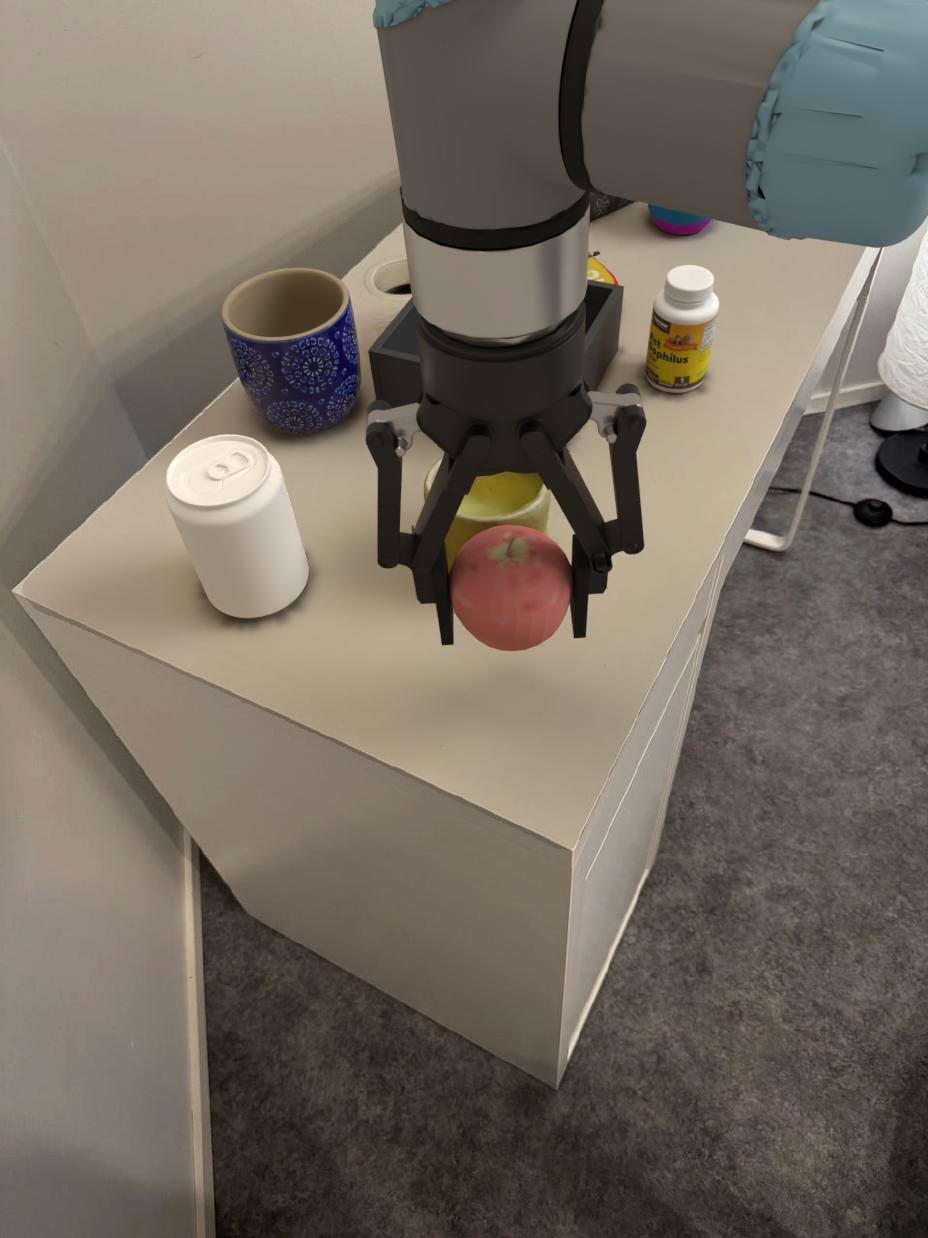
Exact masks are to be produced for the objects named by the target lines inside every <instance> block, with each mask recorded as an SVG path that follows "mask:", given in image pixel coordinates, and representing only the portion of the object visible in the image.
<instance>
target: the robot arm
mask: <svg viewBox="0 0 928 1238" xmlns="http://www.w3.org/2000/svg"><path fill="white" fill-rule="evenodd" d="M374 1H375V2H374V3H375V7H374V10H373V12H372V23H373V24H372V25H373V28H375V30H376V33H377V40H378V46H379V52H380V59H381V65H382V72H383V77H384V83H385V84H384V85H385V90H386V96H387V102H388V109H389V115H390V120H391V127H392V134H393V139H394V146H395V152H396V158H397V165H398V170H399V179H400V187H398V188H399V189H398V190H399V195H400V200H401V201H400V202H401V211H400V216H401V223H402V231H403V238H404V246H405V254H406V262H407V268H408V270H407V271H408V277H409V285H410V291H411V297H412V299H413V304H414V306H415V307H416V312H415V325H416V333H417V341H418V349H419V357H420V365H421V373H422V381H423V387H422V390H421V392H420V393H419V395H418V398H417V403H413V404H409V405H405V406H401V407H396V408H391V406H390V404H389V403H387V402H386V401H383V400H376V399H375V400H373V401H371V402H370V403H369V404H368V407H367V415H366V426H365V439H364V440H365V445H366V447H367V449H368V451H369V453H370V455H371V458H372V461H373V462H374V464H375V466H376V468H377V510H376V511H377V514H376V515H377V518H376V519H377V521H376V523H377V527H376V528H377V529H376V531H377V532H376V534H377V536H376V539H377V540H376V556H377V557H376V562H377V565H378V566H379V567H381V568H383V569H387V570H390V569H395V568H396V567H398V566H399V565H400V566H404V567H406V568H408V569H410V571H411V572H412V573H411V574H412V580H413V584H414V591H415V596H416V600H417V602H418V603H420V605H430V604H435V608H436V615H437V621H438V627H439V628H438V629H439V635H440V644H441V646H453V645H455V640H454V639H455V636H454V632H455V631H454V609H453V607H452V604H451V602H450V599H449V591H448V576H449V570H448V562H447V554H446V546H445V542H444V540H445V538H446V536H447V534H448V531H449V529H450V527H451V525H452V522H453V520H454V518H455V516H456V514H457V511H458V509H459V507H460V505H461V502H462V500H463V498H464V496H465V495H468V494H469V492H470V490H471V487H472V485H473V483H474V481H475V479H476V477H477V476H492V475H495V474H499V473H503V472H513V473H521V474H526V473H537V472H538V474H539V476H540V478H541V479H542V481H543V483H544V485H545V486H546V488H547V490H551V494H552V496H553V497H554V499H555V500H556V502H557V504H558V506H559V508H560V510H561V512H562V513H563V515H564V516H565V519H566V520H567V522H568V523H569V525H570V527H571V529H572V530H573V532H574V533H572V537H571V539H572V540H571V541H572V542H571V562H570V564H571V567H572V570H573V579H574V589H573V594H572V598H571V601H570V604H569V609H570V619H571V628H572V635H573V636H572V637H573V639H586V638H587V628H588V627H587V624H588V610H589V595H603V594H604V593H605V591H606V590H607V589H608V581H609V578H608V577H609V572H611V571H612V570H613V566H614V565H613V560H612V559H613V558H612V557H613V556H614V555H616V554H618V553H621V552H624V553H625V554H627V555H637V554H639V553H641V552H643V551H644V549H645V537H644V526H643V515H642V513H643V512H642V502H641V501H642V500H641V490H640V489H641V488H640V479H639V467H638V456H637V452H638V449H639V446H640V444H641V441H642V438H643V435H644V433H645V431H646V427H647V423H648V422H647V417H646V413H645V409H644V404H643V400H642V395H641V390H640V389H639V386H638V385H636V384H634V383H629V382H627V383H623V384H621V385H620V386H619V387H617V389H616V391H615V392H614V393H613V392H606V391H605V392H603V391H596V390H595V391H590V388H589V386H588V384H587V383H586V381H585V380H584V378H583V365H584V342H585V318H586V307H585V302H584V297H585V294H586V289H587V276H588V251H589V248H590V247H589V246H590V245H589V242H590V222H589V217H590V196H591V192H594V193H598V194H601V195H612V196H617V197H621V198H625V199H629V200H633V201H634V202H638V203H643V204H647V205H648V204H650V205H655V206H659V207H663V208H667V209H671V210H676V211H680V212H684V213H688V214H692V215H697V216H701V217H705V218H709V219H712V220H714V221H718V222H723V223H726V224H731V225H735V226H739V227H743V228H748V229H752V230H756V231H761V232H764V233H766V235H768V236H771V237H775V238H778V239H781V240H784V241H785V240H786V241H790V240H792V239H795V240H800V241H802V240H803V241H804V240H806V239H811V240H818V241H825V242H826V241H827V242H831V243H840V244H848V245H854V246H860V247H866V248H872V249H880V248H886V247H891V246H895V245H897V244H898V245H899V244H900V243H902V242H903V241H905V240H907V239H908V238H910V237H911V236H913V234H915V233H916V231H917V230H918V229H919V228H920V227H922V225H923V224H924V222H925V221H926V220H927V218H928V0H374ZM589 420H592V421H593V422H594V423H596V426H597V433H598V434H599V436H600V437H601V438H603V439H605V440H606V442H607V443H608V451H609V459H610V467H611V468H610V469H611V476H612V485H613V494H614V502H615V511H616V517H617V518H614V519H610V520H608V521H605V519H604V517H603V515H602V513H601V512H600V509H599V507H598V505H597V503H596V501H595V500H594V498H593V496H592V494H591V492H590V490H589V489H588V486H587V484H586V482H585V480H584V479H583V477H582V475H581V472H580V471H579V469H578V467H577V465H576V463H575V461H574V459H573V458H572V457H573V456H572V455H571V452H570V451H569V448H568V446H567V445H568V444H569V443H570V441H572V439H573V438H574V437H575V436H576V435H578V433H579V432H580V431H581V429H582V428H583V427H585V425H586V424H587V423H588V422H589ZM417 432H422V433H423V434H424V435H425V436H426V437H427V438H429V439H430V440H431V441H432V442H433V443H434V444H435V445H436V446H437V447H439V448H440V449H441V450H442V451H443V456H442V458H443V459H442V458H441V459H442V461H441V464H440V466H439V469H438V471H437V474H436V476H435V479H434V481H433V484H432V486H431V488H430V491H429V493H428V496H427V498H426V501H424V503H423V505H422V508H421V510H420V513H419V515H418V518H417V521H416V523H415V525H411V533H409V532H403V531H401V514H402V486H403V485H402V483H403V482H402V481H403V457H405V456H406V454H407V451H409V450H411V448H412V447H413V443H414V439H413V438H414V436H415V434H416V433H417Z"/></svg>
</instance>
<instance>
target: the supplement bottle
mask: <svg viewBox="0 0 928 1238" xmlns="http://www.w3.org/2000/svg"><path fill="white" fill-rule="evenodd" d="M665 278H666V279H665V282H664V283H665V284H664V287H662V288H661V289H659V291H657V293H656V295H655V296H654V299H653V303H652V312H651V318H650V326H649V334H648V340H647V342H648V343H647V351H646V358H645V365H644V367H645V368H644V374H645V377H646V380H647V381H648V383H649V384H650V385H651V386H653V387H654V388H656V389H658V390H660V391H663V392H666V393H671V394H679V393H680V394H681V393H682V394H683V393H686V392H690V391H693V390H695V389H697V388H698V387H699V386H701V384H702V383H703V382H704V380H705V378H706V375H707V369H708V365H709V360H710V354H711V351H712V350H711V348H712V346H713V339H714V334H715V329H716V325H717V318H718V315H719V308H720V302H719V298H718V296H717V294H716V293H715V292H714V283H715V276H714V274H713V273H712V272H711V270H709V269H707V268H705V267H702V266H700V265H694V264H683V265H678V266H676V267H673V268H672V269H670V270H669V271H668V272H667V274H666V277H665Z"/></svg>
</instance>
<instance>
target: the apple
mask: <svg viewBox="0 0 928 1238" xmlns="http://www.w3.org/2000/svg"><path fill="white" fill-rule="evenodd" d="M573 589H574V579H573V570H572V567H571V562H570V560H569V558H568V556H567V554H566V552H565V551H564V550H563V548H561V546H560V545H559V544H558V543H557V542H556V541H555V540H553V539H552V538H551V537H549V536H548V535H547V534H546V535H545V534H544V533H542V532H540V531H537V530H535V529H533V528H529V527H524V526H520V525H502V526H496V527H492V528H490V529H487V530H484V531H482V532H480V533H478V534H477V535H475V536H474V537H472V538H471V539H470V540H469V541H467V542H466V543H465V544H464V545H463V546H462V547H461V549H460V550H459V552H458V553H457V555H456V556H455V558H454V561H453V563H452V566H451V569H450V572H449V576H448V591H449V599H450V602H451V604H452V607H453V613H454V614H455V616H456V617H457V619H458V620H459V621H460V623H461V625H462V626H463V627H464V629H466V631H467V632H468V633H470V634H471V635H472V636H473V637H474V638H475V639H476V640H477V641H478V642H480V643H482V644H484V645H485V646H487V647H489V648H491V649H495V650H497V651H503V652H519V651H526V650H529V649H531V648H534V647H537V646H540V645H541V644H543V643H544V642H546V641H547V640H549V639H550V638H552V636H553V635H554V634H555V633H556V632H557V630H559V628H560V627H561V625H562V623H563V621H564V619H565V617H566V615H567V612H568V609H569V608H570V601H571V598H572V594H573Z"/></svg>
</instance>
